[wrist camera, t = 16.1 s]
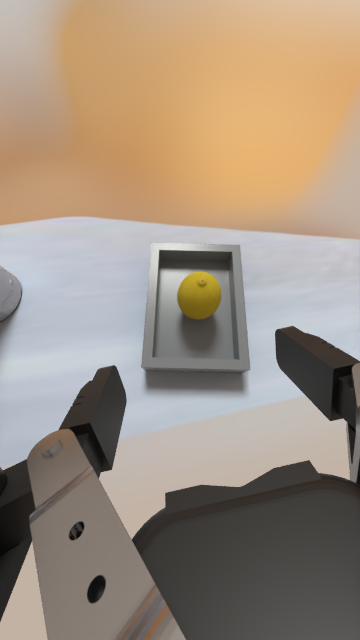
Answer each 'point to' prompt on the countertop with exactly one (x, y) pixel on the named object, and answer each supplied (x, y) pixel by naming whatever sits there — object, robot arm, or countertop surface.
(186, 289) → the lemon
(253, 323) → the countertop surface
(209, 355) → the tray
